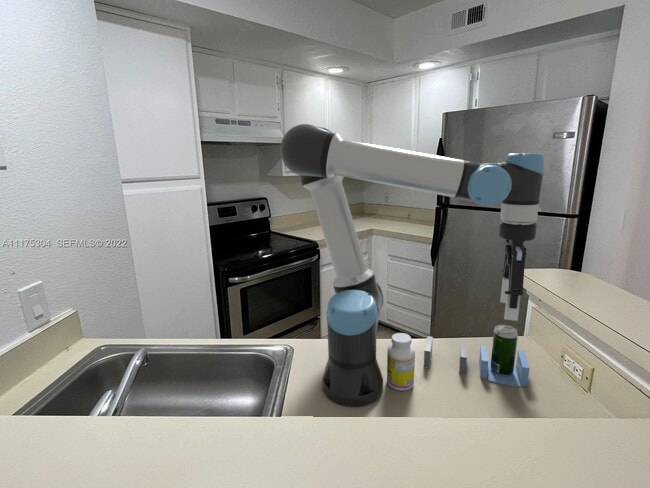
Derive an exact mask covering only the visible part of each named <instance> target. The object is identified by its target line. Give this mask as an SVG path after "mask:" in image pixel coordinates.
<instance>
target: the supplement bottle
mask: <svg viewBox="0 0 650 488" xmlns="http://www.w3.org/2000/svg"><path fill="white" fill-rule="evenodd" d="M386 351H387V353H386V354H387V355H386V356H387V357H386V358H387V360H386V363H387V365H386V366H387V367H386V381H387V385H389V387H390V388H392V389H393V390H396V391H403V392H405V391H409V390H411V389H412V388H413V386H414V384H415V362H416V349H415V348H414V346H413V345H412V336H410V335H409V334H408V333H404V332H396V333H394V334H392V336H391V343H390V344H389V345H388V347H387V350H386Z"/></svg>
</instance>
